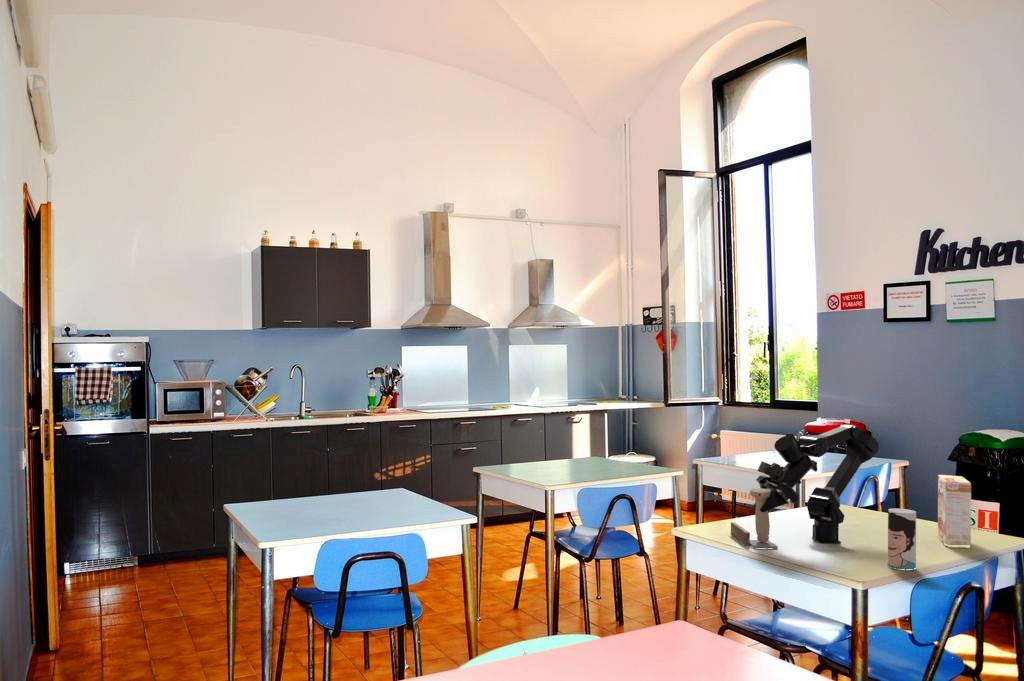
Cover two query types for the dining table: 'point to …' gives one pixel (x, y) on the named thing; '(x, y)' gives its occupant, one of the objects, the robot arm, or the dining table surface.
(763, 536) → the handle
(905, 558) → the cup
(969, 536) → the coffeecake box
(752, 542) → the end pad
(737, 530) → the walnut fence
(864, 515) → the dining table surface
